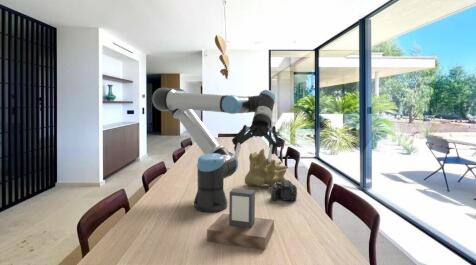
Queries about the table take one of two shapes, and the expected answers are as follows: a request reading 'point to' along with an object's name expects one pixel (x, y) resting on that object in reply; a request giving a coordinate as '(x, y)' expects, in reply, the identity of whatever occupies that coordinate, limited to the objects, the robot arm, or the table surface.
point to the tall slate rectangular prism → (242, 208)
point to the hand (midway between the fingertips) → (252, 158)
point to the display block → (241, 233)
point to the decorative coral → (264, 171)
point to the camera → (283, 191)
